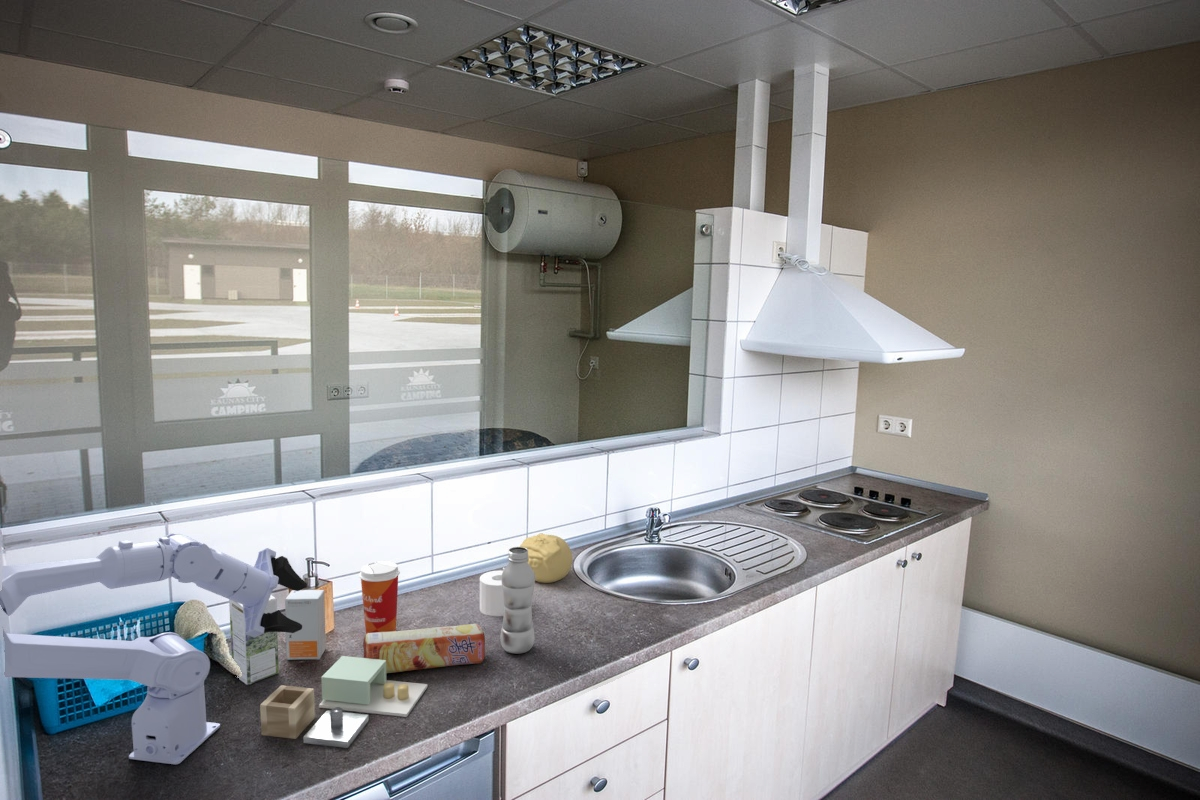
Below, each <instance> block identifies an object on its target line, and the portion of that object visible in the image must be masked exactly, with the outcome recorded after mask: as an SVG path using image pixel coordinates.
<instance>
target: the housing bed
mask: <svg viewBox="0 0 1200 800" xmlns="http://www.w3.org/2000/svg"><path fill="white" fill-rule="evenodd" d="M427 688H428V683H419V682H407V681H400V680H399V681H398V680H397V681H396V680H390V679H388V680H387V679H386V683H385V684H377V683H370V703H369V704H359V703H349V702H340V701H330V700H322V701H321V702H320V703H319V704H318V707H319V709H320V708H322V709H327V710H328V709H329V710H331V709H333V708H336V707H340V708H342V709H343V711H348V712H358V713H367V714H373V715H374V714H375V715H376V714H377V715H384V716H393V717H394V716H395V717H404V718H407V717H408V716H409V714H410V713H411V711H412V710H413V709H414V707H415V705H416V704H417V703H418V701H419V700H420V698H421V697H423V696H422V695H423V694H424V693H425V692H426V690H427Z"/></svg>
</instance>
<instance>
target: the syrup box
mask: <svg viewBox="0 0 1200 800" xmlns="http://www.w3.org/2000/svg"><path fill="white" fill-rule="evenodd" d="M228 600H229V601H228V603H229V605H228V606H229V621H230V622H229V625H230V627H229V629H230V646H231V647H230V648H231V649H230V650H231V659H232V658H233V659H234V661H235V662H236V663H237V665H238V666H239V667H240V670H241V672H242V676H241V677H238V676H237V677H236V678H237V679H238V678H239V680H240V681H241V682H242V683H244V684H245V685H246V686H250V685H252V684H254V683H257V682H259V681H262V680H264V679H267V678H269V677H272V676H275V675H277V674H279V673H280V670H279V669H280V668H279V638H278V635H279V634H278V633H279V632H268V633H263V634H261V635H259V636H257V637H255V638H254V637H251V636H249V635H246V634H245V617H244V610H243V605H242V604H240V603H237V602H235V601H232V600H230V599H228ZM277 610H278V605H277V598H276V597H275V596H273V595H272V594H271V595H270V598H269V601H268V603H267V606H266V608H265V611H264V613H266V614H267V613H273V612H275V611H277Z"/></svg>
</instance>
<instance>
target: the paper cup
mask: <svg viewBox="0 0 1200 800" xmlns="http://www.w3.org/2000/svg"><path fill="white" fill-rule="evenodd" d="M400 574H401V571H400V569H399V566H398V564H397V563H395V562H393V561H389V560H384V561H383V560H380V561H378V560H377V561H375V562H370V563H368V564H364V565H363V566H362V567H361V570H360V572H359V574H358V578H360V583H361V593H362V594H361V597H362V606H363V607H362V608H363V615H364V617H363V618H364V627H365V635H366V634H367V633H377V632H392V631H397V617H398V616H397V613H398V612H397V611H398V595H399V594H398V593H399V592H398V591H399V590H398V588H399V575H400Z"/></svg>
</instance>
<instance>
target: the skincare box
mask: <svg viewBox="0 0 1200 800" xmlns="http://www.w3.org/2000/svg"><path fill="white" fill-rule="evenodd" d="M325 597H326V595H325V590H324V589H302V590H300V591H295V590H292V589H291V591H290V592H289V594H288V595H287V596H286V598H285V599H284V604H285V605H284V607H285V608H284V609H285V613H284V614H285V616H286V617H287V618H289V619H291V620H293V621H296V622H298V623H300V624H301V625H302V629H301V630H299V631H297V632H295V633H288V632H285V636H286V637H285V638H286V639H285V641H286V646H285V647H286V660H288V661H289V660H290V661H291V660H320V659H321V658H322V656H323V654H324V652H325V650H326V647H327V646H326V645H327V642H326V641H327V640H326V609H325V607H326V606H325V605H326V603H325V599H326V598H325Z"/></svg>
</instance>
